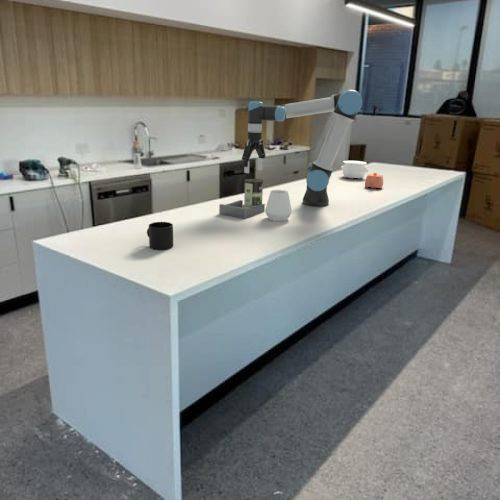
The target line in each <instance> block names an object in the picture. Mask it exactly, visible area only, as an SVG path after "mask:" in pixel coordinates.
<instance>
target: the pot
mask: <svg viewBox="0 0 500 500" xmlns="http://www.w3.org/2000/svg"><path fill="white" fill-rule="evenodd" d="M343 163H344V164H343V165H341V167H340V170H342V174H343V177H345V178H347V177H348V178H347V179H353V178H358V179H362V178H365V175H366V173H368V172H369V169H368V168H366V165H367V164H368V163H367V162H366V161H361V160H343Z"/></svg>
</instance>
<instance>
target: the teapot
mask: <svg viewBox="0 0 500 500" xmlns="http://www.w3.org/2000/svg"><path fill="white" fill-rule="evenodd" d="M383 186H384V175H382V174H378V173H377V172H373V173H369V174H367V175H366V178H365V180H364V188H368V187H371V188H370V189H375V188H380V189H382V188H383ZM381 187H382V188H381Z"/></svg>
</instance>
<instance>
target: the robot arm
mask: <svg viewBox="0 0 500 500" xmlns="http://www.w3.org/2000/svg"><path fill="white" fill-rule="evenodd" d="M263 103H264V102H262V101H250V102H249V103H248V110H247V131H248V132H247V140H248V141H245V146H244V149H243V153H242V157H241V160H242V161H244V163H243V164H244V166H243V167H244V169H243V170H244V171H243V173H244V174H250V158H251V156H252V154H253V151H255V152H256V153H257V155H258V158H257V170H258V171H264V170H263V167H264V165H263V164H264V159H265V158H266V152H265V147H264V140H263V139H262V137H263V136H262V134H263V133H262V131H263V121H264V122H265V121H269V122H284V121H285V120H286V119H290V118H297V117H305V116H311V115H317V114H325V113H331V112H332V113H333V115H334V116H333V117H334V118H333V120H332V123H331V125H330V127H329V129H328V132H327V134H326V136H325V140H324V142H323V145H322V147H321V149H320V152H319V155H318V157H317V159H316V160H314V161H313V162H312V163H311V162H310V163H308V166H307V173H306V174H307V176H306V180H305V181H306V182H305V183H306V189H305V193H304V194H303V197H302V204H304V205H306V206H312V207H325V206H328V205H329V204H330V203H329V202H330V199H329V195H328V185H329V183H330V182H329V181H330V178H331V176H332V174H333V171H334V169H333V164H334V162H335V161H336V160H335V159H336V157H337V155H338V152H339V151H340V148H341V145H342V143H343V140H344V138H345V136H346V134H347V131H348V128H349V126H350V124H351V123H353V122H354V121H355V120H356V117H357V115H358V113H359V111H360V110H361V108H362V105H363V97H362V95H361V93H359V91H357V90H354V89H346V90H344V91H342V92H339V93H335V94H332V95H331V96H330V97H324V98H317V99H310V100H305V101H298V102H291V103H287V104H286V103H285V104H280V105H279V104H277V105H264V104H263Z"/></svg>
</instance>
